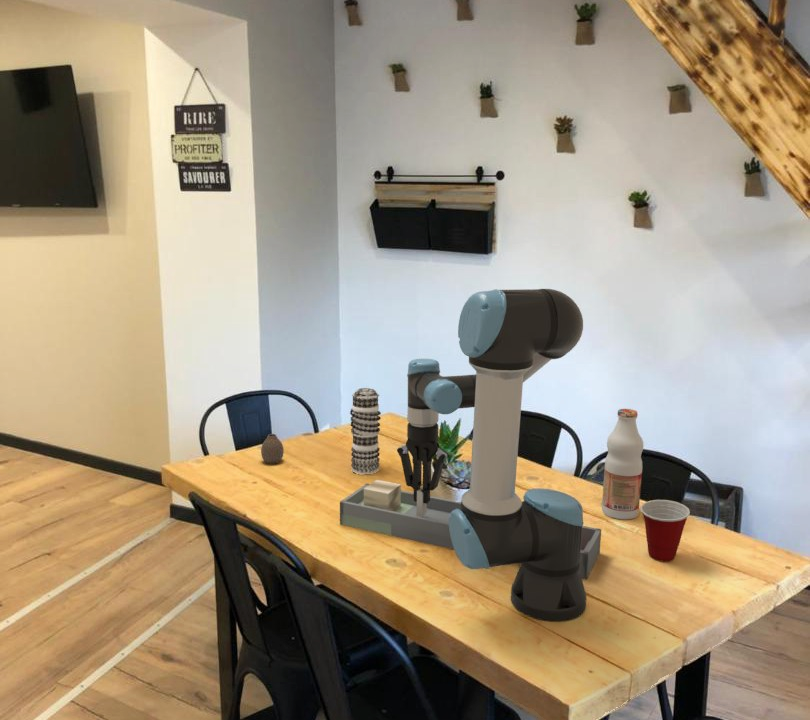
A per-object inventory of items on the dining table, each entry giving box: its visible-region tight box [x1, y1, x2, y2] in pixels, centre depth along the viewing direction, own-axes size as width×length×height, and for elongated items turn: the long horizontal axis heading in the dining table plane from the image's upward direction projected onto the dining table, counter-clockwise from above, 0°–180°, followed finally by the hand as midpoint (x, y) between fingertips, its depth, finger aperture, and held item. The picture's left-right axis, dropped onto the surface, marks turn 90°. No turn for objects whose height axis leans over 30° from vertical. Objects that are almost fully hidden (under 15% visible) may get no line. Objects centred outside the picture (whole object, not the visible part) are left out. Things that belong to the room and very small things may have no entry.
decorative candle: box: [349, 387, 382, 475], centre depth 225 cm, size 9×9×25 cm
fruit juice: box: [601, 408, 644, 520], centre depth 195 cm, size 9×9×28 cm
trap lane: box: [339, 483, 602, 580], centre depth 182 cm, size 14×62×6 cm, turn 64°
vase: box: [260, 433, 285, 465], centre depth 232 cm, size 7×7×9 cm
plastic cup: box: [639, 499, 691, 562], centre depth 173 cm, size 11×11×12 cm
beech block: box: [364, 479, 402, 511], centre depth 191 cm, size 7×7×6 cm
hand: (421, 514), depth 186 cm, fingers closed
